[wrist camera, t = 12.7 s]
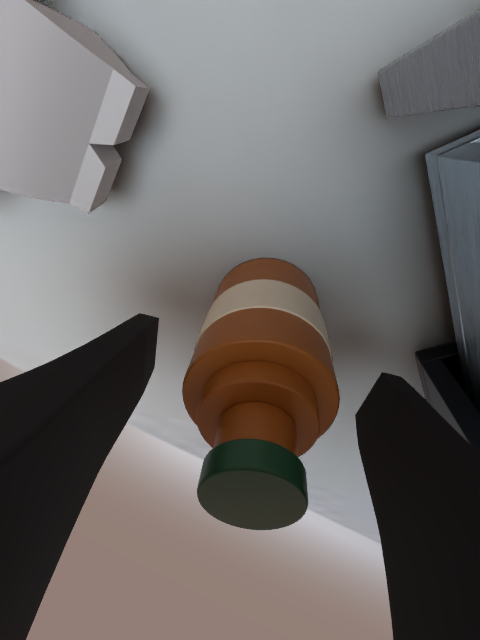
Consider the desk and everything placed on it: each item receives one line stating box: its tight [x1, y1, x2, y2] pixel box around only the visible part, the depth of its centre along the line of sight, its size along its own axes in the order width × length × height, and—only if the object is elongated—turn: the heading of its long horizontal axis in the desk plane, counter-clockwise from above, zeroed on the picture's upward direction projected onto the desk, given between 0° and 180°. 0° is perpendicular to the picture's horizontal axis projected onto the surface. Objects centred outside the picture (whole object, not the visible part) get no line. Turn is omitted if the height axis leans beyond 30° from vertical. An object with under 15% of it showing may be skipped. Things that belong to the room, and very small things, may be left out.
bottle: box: [182, 258, 340, 530], centre depth 10 cm, size 4×4×8 cm
